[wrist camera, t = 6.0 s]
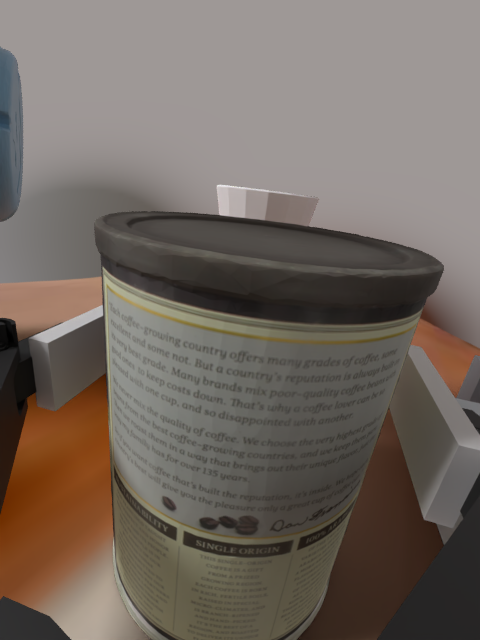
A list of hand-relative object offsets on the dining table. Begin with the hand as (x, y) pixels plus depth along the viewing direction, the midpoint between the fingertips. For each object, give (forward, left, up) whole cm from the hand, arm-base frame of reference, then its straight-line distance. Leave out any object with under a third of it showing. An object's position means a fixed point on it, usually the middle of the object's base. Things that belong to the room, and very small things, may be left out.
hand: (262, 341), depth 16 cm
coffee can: (+3, -2, -9) cm, 9 cm away
